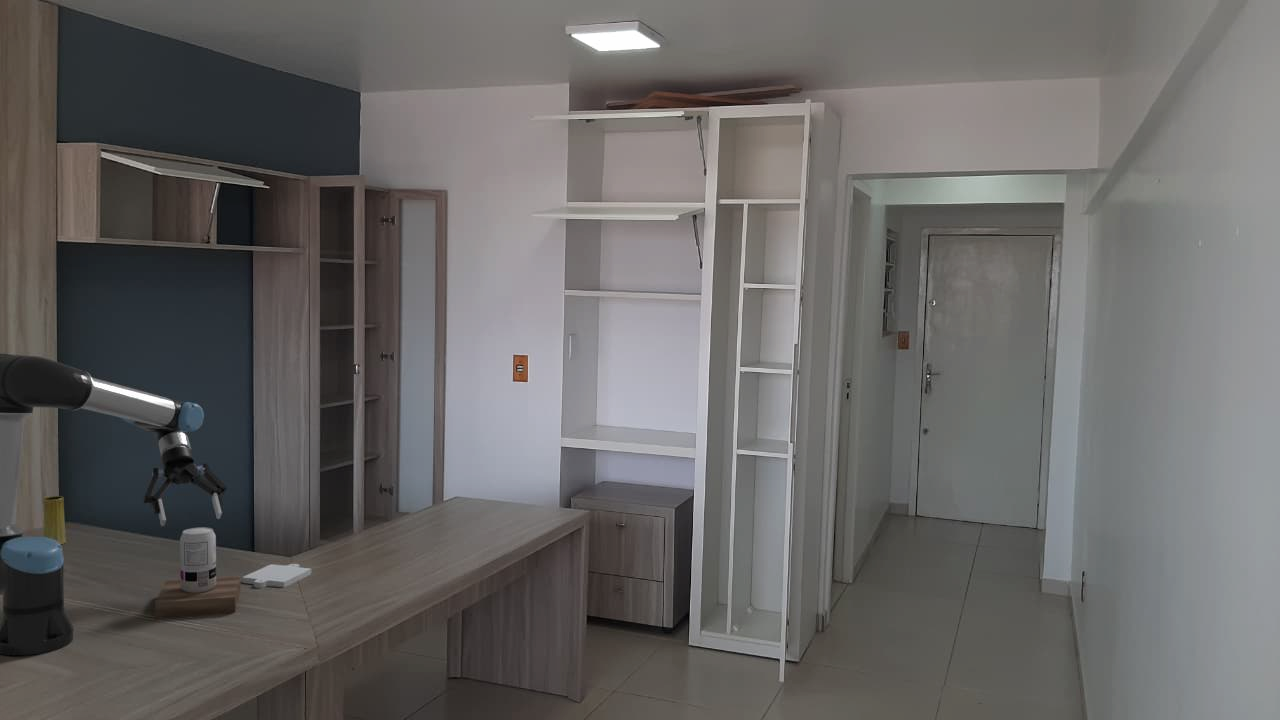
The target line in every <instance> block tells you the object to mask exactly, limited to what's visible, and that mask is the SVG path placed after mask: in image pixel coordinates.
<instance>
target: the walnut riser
mask: <svg viewBox="0 0 1280 720" xmlns="http://www.w3.org/2000/svg"><path fill="white" fill-rule="evenodd" d="M240 593H241V575H232V576H231V575H229V576H218V577H217V576H216V585H215V586H214V588H213V589H211V590H209V591H206V592H200V593H188V592H185V591H184V590H183V589H181V579H173V580H171V579H168V580H165V581H164V583H163V585H162V587H161V590H160V591H159V594H158V595H157V597H156V600H155V601H154V614H155V615H154V618H155V619H156V618H158V619H167V618H170V617H171V618H184V617H195V616H208V615H220V614H221V615H222V614H232V613H234V614H235V613H236V611H237V608H238V607H237V606H238V602H239V598H240ZM166 617H167V618H166Z"/></svg>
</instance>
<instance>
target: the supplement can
mask: <svg viewBox="0 0 1280 720" xmlns="http://www.w3.org/2000/svg"><path fill="white" fill-rule="evenodd" d="M179 544H180V545H179V549H180V550H179V551H180V553H179V555H180V556H179V558H180V559H179V560H180V562H179V563H180V565H179V566H180V580H181V589H183V590H184V591H185V592H188V593H200V592H206V591H209V590H211V589H213V588H214V586H215V585H216V577H217V537H216V533H215V532H214V529H213V528H212V527H202V526H201V527H193V528H192V527H191V528H187V529H184V530H183V531H182V534H181V535H180V538H179Z"/></svg>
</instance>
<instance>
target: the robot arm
mask: <svg viewBox="0 0 1280 720" xmlns="http://www.w3.org/2000/svg"><path fill="white" fill-rule="evenodd" d="M34 408H51V409H52V408H53V409H54V408H55V409H64V410H68V411H78V410H80V409H83V410H87V411H91V412H96V413H100V414H104V415H110V416H113V417H118V418H120V419H121V420H123V421H125V422H127V423H128V424H129V425H130V424H131V425H134V426H136V427H138V428H141V429H143V430H145V431H148V432H149V433H152V434H155V436H156V439H157V443H158V446H159V452H160V453H159V454H160V456H161V461H162V465H163V469H159V468H157V467H154V468H152V473H151V480H150V483H149V485H148V487H147V489H146V492H145V495H144V497H143V501H142V502H143V503H144V504H148V503H149V504H150V505H151V507H152V510H153V514H155V515H158V518H159V522H160V526H161V527H163V526H165V525H166V522H167V518H166V513H165V508H164V505H163V503H164V502H163V500H162V498H163V495H164V494H165V493H166V492H167V490H169V488H170V487H171V486H172V485H173V484H175V485H181V484H184V485H185V484H189V483H190V484H192V485H196V486H198V487H199V488H201V489H202V490H203V491H205V492H206V493H208V494H210V495H211V496H212V497H211V501H212V506H213V510H214V512H215V517H216V520H220V519H221V517H222V514H223V511H222V508H221V507H222V506H223V502H224V500H223V497H222V496H224V495H226V492H227V489H228V486H226V485H225V484H224V483H223V482H222V481H221V480H220V479H219V477H218V476H217V475H216V474H215V473H214V472H213V471H212V470H211V469H210V466H209V464H208V463H206V462H205V463H203V465H198V466H197V465H196V464H195V460H194V455H193V452H192V447H191V443H190V439H189V436H188V433H187V432H194V431H197V430H198V429H200V428H201V426H202V425H203V421H204V418H205V415H204V409H203V408H202V407H201V406H200V405H199V404H198V403H193V402H190V401H180V400H176V399H172V398H168V397H165V396H162V395H161V396H160V395H157V394H154V393H152V392H151V393H150V392H146V391H142V390H140V389H135V388H133V387H129V386H125V385H121V384H118V383H113V382H109V381H106V380H102V379H99V378H95V377H92V376H91V374H90V373H89V372H88V371H86V370H83V369H79V368H76V367H73V366H69V365H68V364H67V365H66V364H64V363H62V362H59V361H55V360H51V359H49V358H46V357H43V356H36V355H20V354H10V353H0V595H2V616H1V620H0V655H2V654H4V655H3V656H9V655H13V656H12V657H14V656H15V655H23V656H31V655H32V656H33V655H38V654H42V653H43V654H45V653H49V652H51V651H54V650H58V649H60V648H63V647H65V646H67V645H69V644H70V643H71V642H72V641H73V640H74V627H73V625H72V622H71V620H70V618H69V615H68V612H67V610H66V607H65V602H64V600H65V599H64V595H65V592H64V591H65V590H64V587H65V582H64V574H65V573H64V570H65V569H64V562H65V557H64V552H63V547H62V545H60V543H59V542H57V541H56V540H54V539H51V538H47V537H44V536H33V535H30V536H29V535H28V536H23V529H22V528H21V527H19V526H18V525H17V523H16V522H17V510H18V508H17V507H18V498H19V486H20V476H21V475H20V473H21V472H20V471H21V463H22V452H23V451H22V450H23V438H24V430H25V429H24V427H25V421H26V420H27V419H28V418H29V417H31V416H32V415H33V414H34V413H33V411H34ZM199 473H200V474H199ZM201 475H203V476H204V477H202V476H201ZM162 476H164V477H165V478H166V480H165V481H164V482H163V484H161V486H160V487H159V489H158V490H157V491H156V492H155V494H153V491H154V489H155V487H156V484H157V482H158V479H160V478H161V477H162ZM152 494H153V495H152ZM15 657H16V656H15Z"/></svg>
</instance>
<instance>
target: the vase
mask: <svg viewBox="0 0 1280 720" xmlns="http://www.w3.org/2000/svg"><path fill="white" fill-rule="evenodd" d="M64 500H65V499H64V496H62V495H56V496H55V495H54V496H52V495H51V496H46V497H44V498H43V537H47V538H51V539H54V540H56V541H57V542H59V543H60V545H61V544H62V545H64V543H65V544H66V543H67V539H66V537H67V536H66V525H65V523H66V522H65V502H64ZM62 545H61V546H62Z"/></svg>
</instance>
